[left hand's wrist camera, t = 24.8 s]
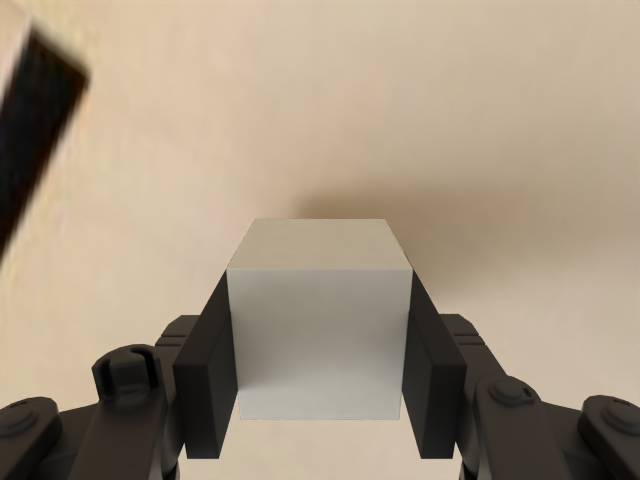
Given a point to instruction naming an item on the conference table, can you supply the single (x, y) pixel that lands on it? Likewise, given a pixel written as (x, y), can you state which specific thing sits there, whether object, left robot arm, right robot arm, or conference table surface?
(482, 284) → the conference table surface
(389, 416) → the block
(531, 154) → the conference table surface
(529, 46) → the conference table surface
